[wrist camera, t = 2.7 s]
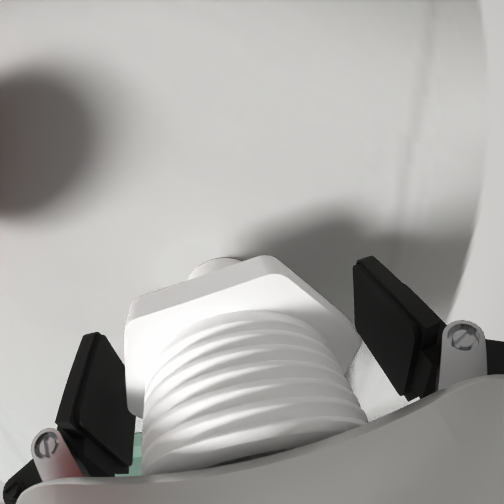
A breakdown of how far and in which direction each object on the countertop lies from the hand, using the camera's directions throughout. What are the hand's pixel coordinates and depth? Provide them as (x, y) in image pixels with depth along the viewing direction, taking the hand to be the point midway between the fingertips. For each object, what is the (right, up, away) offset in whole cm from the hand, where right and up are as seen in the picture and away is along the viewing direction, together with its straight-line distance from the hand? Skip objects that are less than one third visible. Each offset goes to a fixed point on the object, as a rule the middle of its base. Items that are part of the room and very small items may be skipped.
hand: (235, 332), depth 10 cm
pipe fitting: (-1, +1, +2) cm, 3 cm away
